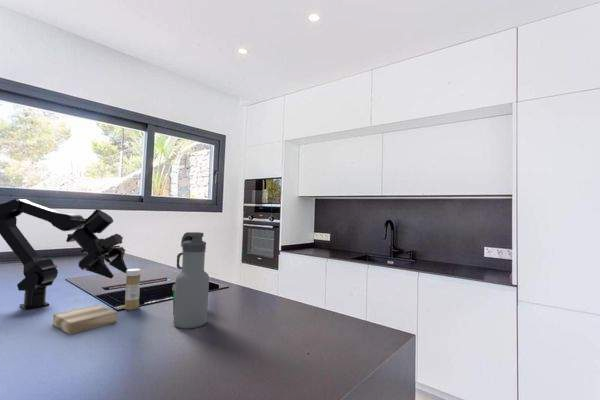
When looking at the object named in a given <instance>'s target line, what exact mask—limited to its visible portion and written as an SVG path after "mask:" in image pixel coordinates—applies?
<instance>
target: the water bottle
mask: <svg viewBox="0 0 600 400" xmlns="http://www.w3.org/2000/svg"><path fill="white" fill-rule="evenodd" d="M204 234H205V233H204V232H200V231H190V232H189V231H188V232H185V233H184V234H183V236H182V237H181V242H180V247H181V249H182V251H181V252H180V253H178V254H177V256H176V268H177V269H179V270H181V271H180V272H179V273H177V275H176V277H175V283H174V284H175V303H174V314H173V326H175V327H177V328H178V329H182V330H184V329H185V330H187V329H189V330H190V329H196V328H199V327H202V326H204V325H206V323H207V321H208V310H209V308H208V307H209V289H210V288H209V287H210V285H209V284H210V276H209V273H207V272H206V271H205V259H206V255H205V254H206V252H207V251H206V250H207V248H206V247H207V242H206V241H204V240H203V237H204ZM181 256H182V261H181V266H180V260H181Z"/></svg>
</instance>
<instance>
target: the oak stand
mask: <svg viewBox="0 0 600 400" xmlns="http://www.w3.org/2000/svg"><path fill="white" fill-rule="evenodd" d="M117 313H118V312H117V311H115V310H112V309H109V308H106V307H104V306H102V305H99V304H96V305H92V306H91V305H90V306H85V307H81V308H77V309H72V310H67V311H62V312H58V313H53V315H52V316H53V317H52V325H53V326H55V327H56V328H58V329H60V330H62V331H63V332H65V333H67V334H69V335H74V334H77V333H81V332H85V331H88V330H92V329H96V328H100V327H103V326H108V325H111V324H114V323H117V320H118V319H117V318H118V316H117V315H118V314H117Z"/></svg>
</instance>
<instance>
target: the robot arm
mask: <svg viewBox="0 0 600 400" xmlns="http://www.w3.org/2000/svg"><path fill="white" fill-rule="evenodd" d="M23 213H24V214H26V215H29V216H32V217H33V218H38V219H40V220H43V221H45V222H48V223H50V224H51V226H53V227H54V228H56V229H57V230H60V231H62V232H69V231H71V232H72V231H73V232H72V233H69V234H67V238H66V242H67V243H71V242H72V243H73V242H75V243H76V244H77V245H79V246H80V248H81V251H80V252H81V253H82V254H86V255H85V256H84V257H82V258H81V259H80V260H79V261H78V268H79V269H80V270H81V271H84V270H85V271H86V272H90V273H94V274H97V275H99V276H102V277H105V278H108V279H113V278H114V274H113V273H112V271H111V270H110V269H109V267H108V266H107V264H105V262H107V263H108V265H109V266H111V267H113V268H115V269H116V270H118V271H119V272H121V273H125V274H126V270H128V268H127V265H126V263H125V260H124V255H125V253H126V249H125V248H124V247H123V246H118V247H116V246H117V245H120V244H123V238H124V237H123V236H122V235H121V234H119V233H114V234H112V235H110V236H108V237H106V238H99V237H98V236H97V235H96V234H101V233H103V232H104V231H105V230H106V229H108V227H109V226H111V224H113V223H114V219H113V217H112V216H111V215H110V214H108V213H106V212H104V211H102V210H101V209H95V210H94V211H92V213H91V215H89V216H88V217H87V218H84V216H82V215H80V214H77V213H72V212H71V213H70V212H63V211H58V210H55V209H52V208H49V207H47V206H44V205H40V204H37V203H36V202H32V201H30V200H28V199H25V198H14V199H11V200H9V201H8V202H3V203H0V236H1V237H2V239H3V240H4V241H5V243H6V244H7V245H8V246H9V248H10V249H11V251H12V252H13V254H15V256H16V258H17V259H18V260H19V261H20V263H21V264H22V265H23V273H22V274H23V276H24V278H23V279H22V280H21V281H20V282H18V283H17V285H16V287H17V290H18V291H24V294H23V295H24V297H23V303H20V304H19V307H21V308H23V309H24V310H30V309H35V308H41V307H46V306H49V305H50V303H49V302H46V301H47V300H46V298H47V287H49V286H53V283H54V281H55V280H57V279H56V278H57V277H58V274H59V272H58V271H59V270H58V269H57V268H58V265H56V264H55V263H54V261H53V260H52V258H50V257H49V258H42V257H40V255H39V253H38V252H37V251H36V250H35V249H34V247H33V246H32V245H31V244H30V242H29V241H28V239H27V238H26V237H25V236H24V234H23V233H22V231H21V230H20V229H19V227H18V225H17V223H18V222H17V219H18V218H17V217H18V216H21V215H22V214H23ZM114 246H115V247H114Z"/></svg>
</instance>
